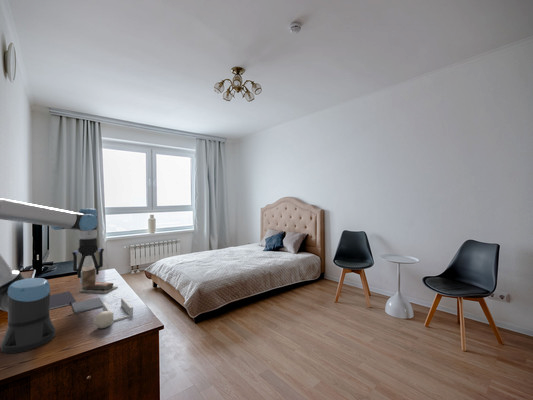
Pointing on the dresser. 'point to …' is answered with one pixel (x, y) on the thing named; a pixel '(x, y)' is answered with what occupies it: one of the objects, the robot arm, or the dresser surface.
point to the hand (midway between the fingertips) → (88, 282)
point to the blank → (88, 276)
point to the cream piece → (103, 319)
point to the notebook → (61, 300)
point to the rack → (124, 304)
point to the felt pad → (87, 305)
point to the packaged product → (99, 288)
